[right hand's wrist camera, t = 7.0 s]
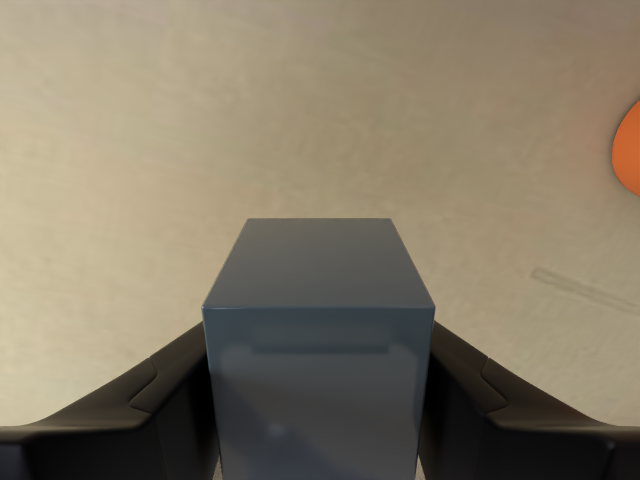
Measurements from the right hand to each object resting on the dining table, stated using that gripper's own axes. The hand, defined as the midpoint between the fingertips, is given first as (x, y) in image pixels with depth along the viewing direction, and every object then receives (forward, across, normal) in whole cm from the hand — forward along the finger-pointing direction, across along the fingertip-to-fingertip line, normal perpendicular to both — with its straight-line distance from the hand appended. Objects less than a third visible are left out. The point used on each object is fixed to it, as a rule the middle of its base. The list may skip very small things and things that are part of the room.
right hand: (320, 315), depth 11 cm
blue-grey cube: (+1, 0, 0) cm, 1 cm away
